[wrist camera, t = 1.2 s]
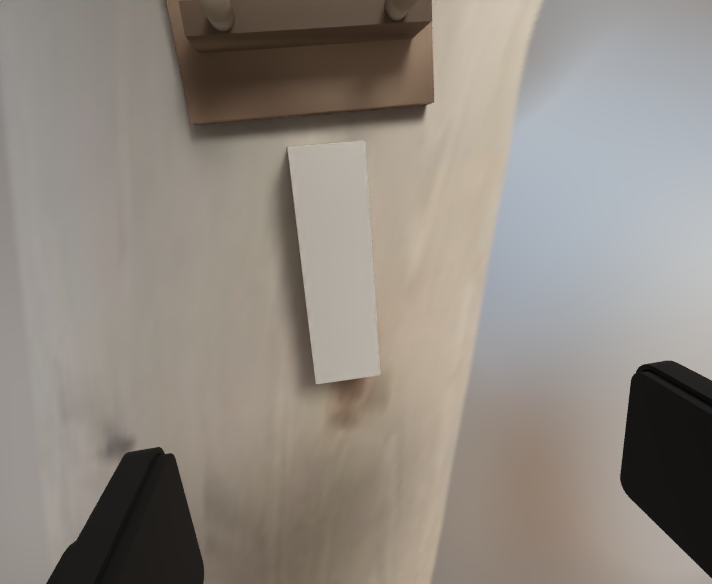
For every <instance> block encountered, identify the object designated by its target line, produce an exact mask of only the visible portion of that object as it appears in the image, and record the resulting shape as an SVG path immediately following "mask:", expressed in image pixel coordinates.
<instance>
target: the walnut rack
mask: <svg viewBox="0 0 712 584" xmlns="http://www.w3.org/2000/svg"><path fill="white" fill-rule="evenodd" d="M166 2H167V7H168V12H169V17H170V22H171V27H172V32H173V37H174V42H175V47H176V52H177V57H178V62H179V67H180V72H181V77H182V82H183V87H184V92H185V97H186V102H187V107H188V112H189V117H190V122H191V123H192V124H195V125H199V124H211V123H222V122H234V121H245V120H257V119H268V118H280V117H291V116H303V115H314V114H326V113H337V112H349V111H360V110H372V109H383V108H395V107H406V106H418V105H428V104H430V103H433V102H434V81H433V48H432V0H166Z"/></svg>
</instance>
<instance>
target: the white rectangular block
mask: <svg viewBox="0 0 712 584" xmlns="http://www.w3.org/2000/svg"><path fill="white" fill-rule="evenodd" d="M287 151H288V160H289V168H290V176H291V185H292V193H293V201H294V210H295V218H296V226H297V235H298V243H299V251H300V260H301V268H302V276H303V285H304V293H305V301H306V310H307V318H308V326H309V335H310V343H311V351H312V359H313V367H314V374H315V381H316V384H323V383H330V382H337V381H344V380H350V379H357V378H364V377H371V376H377V375H380V361H379V346H378V330H377V315H376V299H375V284H374V268H373V253H372V238H371V222H370V207H369V191H368V176H367V160H366V145H365V141H352V142H339V143H326V144H313V145H300V146H287Z"/></svg>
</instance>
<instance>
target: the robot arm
mask: <svg viewBox="0 0 712 584" xmlns="http://www.w3.org/2000/svg"><path fill="white" fill-rule="evenodd" d="M620 475H621V476H620V480H621V484H622V487H623V489H624V491H625V493H626V494H627V495H628V496H629V498H630V499H632V501H634V502H635V503H636V504H637V505H638V506H639V507H640V508H641V509H642V510H643V511H644V512H645V513H646V514H647V515H648V516H649V517H650V518H651V519H652V520H653V521H654V522H655V523H656V524H657V525H658V526H659V527H660V528H661V529H662V530H663V531H664V532H665V533H666V534H667V535H668V536H669V537H670V538H671V539H672V540H673V541H674V542H675V543H676V544H677V545H678V546H679V547H680V548H681V549H682V550H683V551H684V552H686V553H687V554H688V556H690V557H691V558H692V559H693V560H694V561H695V562H696V563H697V564H698V565H699V566H700V567H701V568H702V569H703V570H704V571H705V572H706V573H707V574H708V575H709V576H710V577H711V578H712V381H711V380H709V379H708V378H706V377H703V376H702V375H700V374H698V373H696V372H694V371H692V370H690V369H688V368H686V367H684V366H682V365H680V364H678V363H676V362H674V361H662V362H656V363H651V364H644V365H642V366H640V367H639V368H638V369H637V371H636V374H634V375H633V377H632V379H631V386H630V395H629V403H628V413H627V421H626V431H625V439H624V448H623V457H622V466H621V474H620ZM203 582H204V566H203V560H202V557H201V553H200V549H199V545H198V542H197V538H196V534H195V530H194V527H193V523H192V519H191V515H190V512H189V508H188V504H187V500H186V497H185V493H184V489H183V485H182V482H181V478H180V474H179V470H178V467H177V463H176V459H175V457H174V455H173V454H172V453H169V454H165V453H164V451H163V450H162V448H160V447H157V448H151V449H145V450H139V451H133V452H128V453H126V454H125V455H124V456H123V458H122V460H121V461H120V463H119V465H118V467H117V469H116V470H115V472H114V474H113V476H112V478H111V479H110V481H109V483H108V485H107V487H106V488H105V490H104V492H103V494H102V496H101V497H100V499H99V501H98V503H97V505H96V506H95V508H94V510H93V512H92V514H91V515H90V517H89V519H88V521H87V523H86V524H85V526H84V528H83V530H82V532H81V533H80V535H79V537H78V539H77V541H75V542H74V543H72V544H71V545H69V547H68V548H67V550H66V551H65V552H64V554H63V555H62V557H61V559H60V561H59V562H58V564H57V566H56V568H55V569H54V571H53V573H52V575H51V576H50V578H49V580H48V582H47V583H46V584H203Z"/></svg>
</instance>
